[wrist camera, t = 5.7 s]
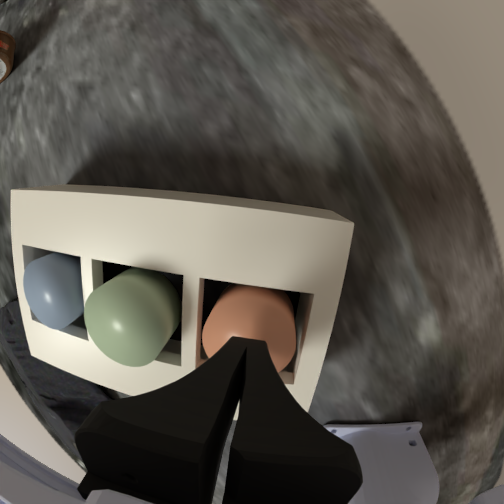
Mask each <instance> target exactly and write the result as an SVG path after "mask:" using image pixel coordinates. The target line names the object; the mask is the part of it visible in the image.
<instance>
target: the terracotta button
mask: <svg viewBox="0 0 504 504" xmlns="http://www.w3.org/2000/svg"><path fill="white" fill-rule="evenodd" d="M232 336H237V337H244V338H250V339H257V340H264V341H266V343H267V346H268V350H269V353H270V356H271V359H272V361H273V363H274V365H275V368H276V370H277V372H280V371H281V370H283V369H284V368H285V367H286V366H287V365H288V364H289V362H290V361H291V359H292V357H293V355H294V352H295V349H296V332H295V320H294V310H293V305H292V302H291V300H290V298H289V297H288V295H287V294H286V293H285V291H284V290H281V289H274V288H266V287H259V286H252V285H245V284H238V283H232V284H231V285H229V286H228V287H227V288H225V290H224V291H223V292H222V293H221V295H220V296H219V298H218V300H217V302H216V304H215V306H214V307H213V309H212V311H211V313H210V315H209V317H208V319H207V321H206V323H205V325H204V328H203V333H202V342H203V347H204V350H205V352H206V354H207V356H208V358H210V357H211V356H213V355H214V354H215V353H216V352H217V351H218V350H219V349H220V348H221V347H222V346H223V345H224V344H225V343H226V342H227V341H228V340H229V339H230V338H231V337H232Z"/></svg>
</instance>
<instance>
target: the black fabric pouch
mask: <svg viewBox="0 0 504 504" xmlns="http://www.w3.org/2000/svg"><path fill="white" fill-rule="evenodd" d="M0 342H1V344H2V345H3V347H4V349H5V350H6V352H7V354H8V356H9V358H10V359H11V360H12V362H13V364H14V366H15V368H16V370H17V372H18V374H19V375H20V377H21V378H22V379H21V381H22V380H23V381H22V382H23V383H24V385H25V388H26V389H27V391H28V394H29V396H30V397H31V399H32V400H33V402H34V403H35V405H36V406H37V408H38V410H39V411H40V413H41V414H42V416H43V417H44V418H45V420H46V421H47V423H48V424H49V425H50V426H51V428H52V429H53V431H54V432H55V433H56V434H57V436H58V437H59V438H60V439H61V440H62V442H63V443H64V444H65V445H66V446H67V447H68V449H69V450H70V451H71V452H72V453H74V454H75V455H76V456H78V457H79V458H80V459H81V460H82V458H81V456H80V454H79V452H78V450H77V447H76V444H75V440H74V436H75V432H76V431H77V430H78V428H79V427H80V426H81V424H82V423H83V422H84V420H85V419H86V418H87V417H88V415H89V414H90V413H91V412H92V410H93V409H94V408H95V407H96V406H97V405H98V404H99V403H100V402H101V401H109V400H112V399H111V398H110V397H108V396H107V395H106V394H105V393H104V392H103V391H102V389H101V388H100V387H99V385H98V384H96V383H94V382H91V381H88V380H86V379H83V378H81V377H78V376H76V375H74V374H71V373H69V372H66V371H64V370H62V369H60V368H57V367H55V366H53V365H51V364H48V363H46V362H44V361H42V360H40V359H38V358H36V357H34V356H32V355H31V353H30V349H29V345H28V341H27V337H26V333H25V329H24V324H23V320H22V315H21V309H20V304H19V300H18V301H14V302H9V303H8V304H7V305H6V306H5V307H2V308H1V309H0Z"/></svg>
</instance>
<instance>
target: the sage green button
mask: <svg viewBox="0 0 504 504" xmlns="http://www.w3.org/2000/svg"><path fill="white" fill-rule="evenodd" d="M181 317H182V304H181V300H180V297H179V294H178V292H177V290H176V289H175V287H174V286H173V284H172V283H171V282H170V281H169V280H168V279H167V278H166V277H165V276H164V275H162V274H161V273H160V272H158V271H156V270H151V269H145V268H139V267H133V268H130V269H127V270H126V271H124V272H122V273H121V274H119V275H117V276H116V277H114V278H112V279H111V280H109V281H108V282H106V283H105V284H103V285H101V286H100V287H98V288H97V289H95V290H94V291H93V292H91V294H90V295H89V296H88V298H87V300H86V303H85V307H84V320H85V324H86V328H87V330H88V333H89V335H90V337H91V339H92V340H93V342H94V343H95V345H96V346H97V347H98V348H99V349H100V350H101V351H102V352H103V353H104V354H105V355H106V356H107V357H109V358H110V359H112V360H113V361H115V362H117V363H119V364H122V365H125V366H130V367H141V366H145V365H148V364H149V363H151V362H152V361H154V360H155V359H156V357H157V356H158V355H159V353H160V352H161V350H162V349H163V347H164V346H165V344H166V343H167V341H168V340H169V339H170V337H171V336H172V334H173V333H174V331H175V330H176V328H177V327H178V325H179V323H180V321H181Z"/></svg>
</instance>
